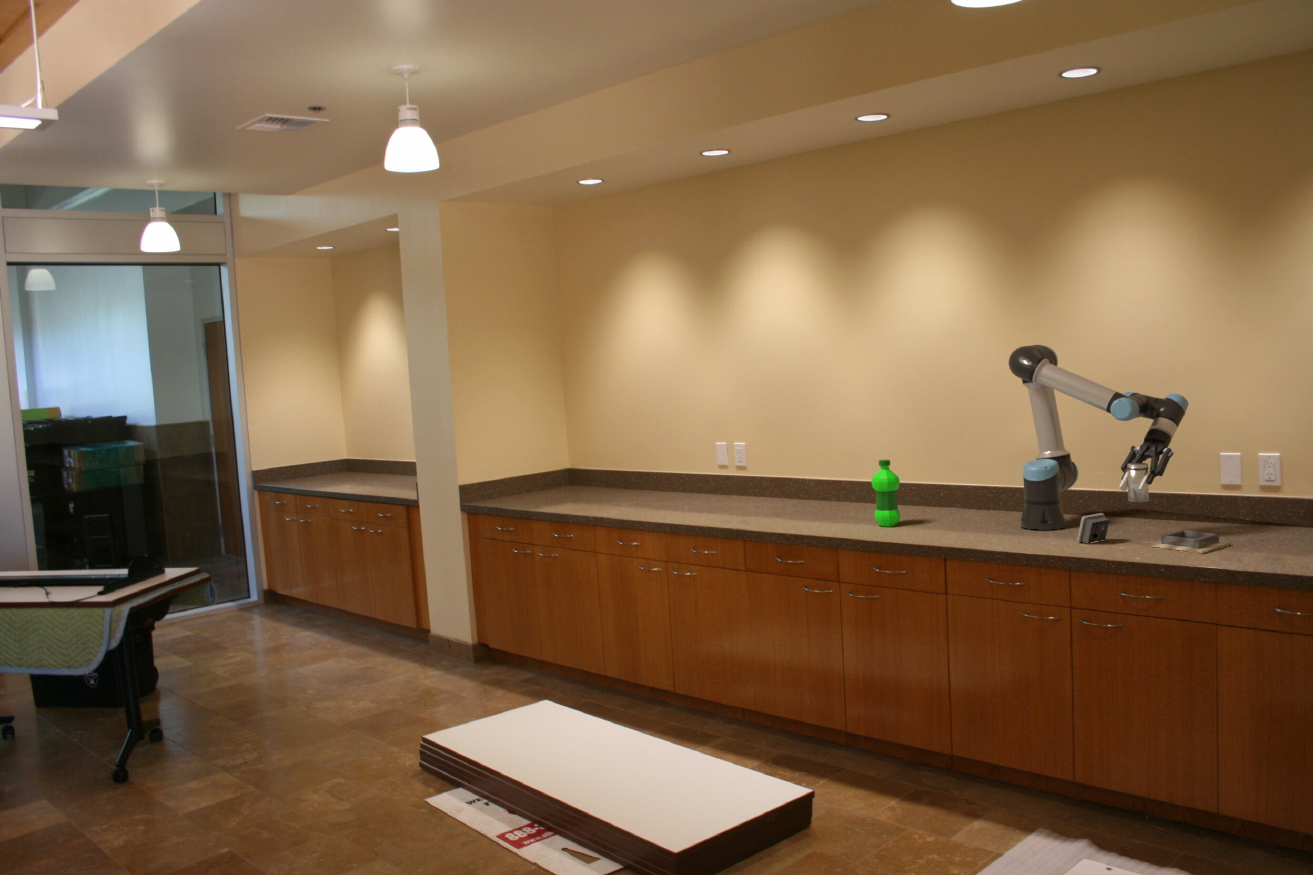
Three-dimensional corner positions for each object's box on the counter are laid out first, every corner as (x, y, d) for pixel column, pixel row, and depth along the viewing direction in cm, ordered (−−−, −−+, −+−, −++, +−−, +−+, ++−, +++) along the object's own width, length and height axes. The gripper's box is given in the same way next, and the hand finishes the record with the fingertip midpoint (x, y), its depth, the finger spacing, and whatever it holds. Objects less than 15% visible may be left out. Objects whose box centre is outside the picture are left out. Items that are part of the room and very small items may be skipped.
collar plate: (1150, 547, 297) (1149, 536, 297) (1179, 538, 305) (1178, 528, 305) (1201, 554, 283) (1201, 542, 283) (1231, 545, 292) (1230, 533, 291)
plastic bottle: (899, 522, 369) (895, 458, 366) (903, 527, 358) (900, 461, 356) (872, 523, 370) (869, 459, 368) (876, 528, 359) (872, 462, 357)
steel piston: (1123, 500, 313) (1122, 464, 311) (1134, 498, 316) (1134, 462, 315) (1142, 502, 307) (1141, 465, 306) (1153, 500, 310) (1152, 463, 309)
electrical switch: (1097, 539, 314) (1098, 511, 313) (1110, 542, 310) (1111, 515, 308) (1076, 543, 311) (1077, 515, 309) (1089, 547, 306) (1090, 519, 304)
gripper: (1193, 443, 310) (1164, 500, 303) (1137, 440, 326) (1109, 494, 319) (1183, 428, 306) (1154, 485, 300) (1128, 426, 323) (1099, 480, 316)
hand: (1131, 490), depth 309 cm, fingers closed on steel piston, 6 cm apart
